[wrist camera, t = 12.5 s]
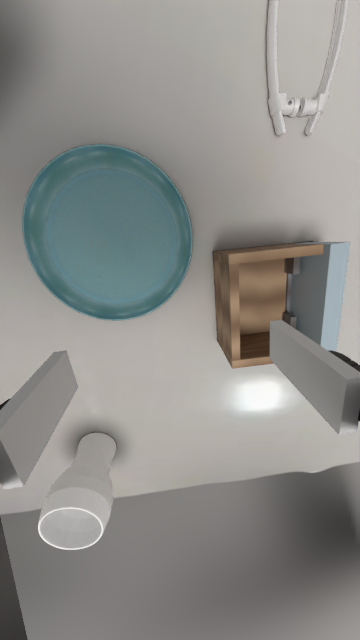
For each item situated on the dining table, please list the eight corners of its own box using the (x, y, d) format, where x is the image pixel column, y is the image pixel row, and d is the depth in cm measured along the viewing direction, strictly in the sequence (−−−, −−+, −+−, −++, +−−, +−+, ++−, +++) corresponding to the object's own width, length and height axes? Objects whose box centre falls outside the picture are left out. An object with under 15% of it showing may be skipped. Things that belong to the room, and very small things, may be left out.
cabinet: (212, 251, 38) (228, 254, 29) (316, 240, 39) (366, 239, 29) (217, 340, 43) (232, 368, 34) (309, 330, 44) (349, 354, 34)
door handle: (256, 140, 34) (274, -126, 26) (321, 140, 35) (358, -120, 27) (263, 132, 32) (286, -166, 24) (333, 132, 32) (378, -159, 24)
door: (293, 243, 38) (330, 244, 30) (308, 242, 38) (350, 242, 30) (288, 334, 43) (319, 356, 35) (301, 332, 43) (335, 354, 35)
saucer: (148, 337, 43) (146, 345, 39) (13, 272, 38) (-1, 274, 34) (218, 211, 37) (223, 208, 34) (69, 113, 32) (59, 99, 28)
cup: (130, 434, 49) (116, 512, 34) (114, 470, 52) (96, 557, 37) (79, 420, 47) (42, 498, 33) (66, 459, 50) (27, 546, 35)
